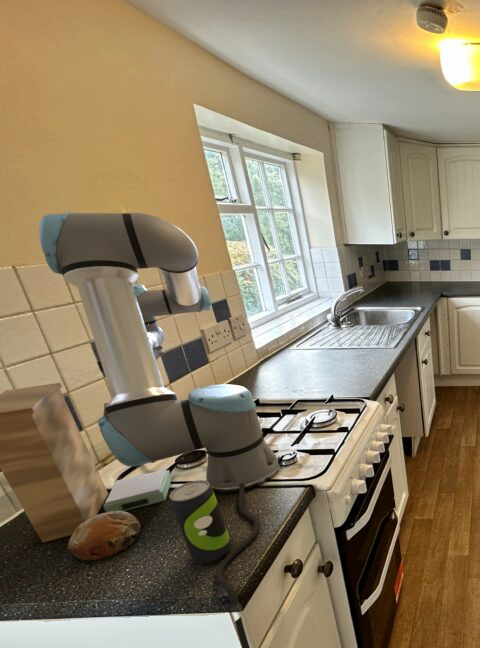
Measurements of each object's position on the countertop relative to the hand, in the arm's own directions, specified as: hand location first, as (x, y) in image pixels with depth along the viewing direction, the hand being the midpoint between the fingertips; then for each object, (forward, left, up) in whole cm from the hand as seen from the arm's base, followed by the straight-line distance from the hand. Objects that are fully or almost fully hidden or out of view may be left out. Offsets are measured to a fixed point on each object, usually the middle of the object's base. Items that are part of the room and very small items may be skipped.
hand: (116, 372), depth 97 cm
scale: (-14, +5, -26) cm, 30 cm away
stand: (-12, +15, -26) cm, 32 cm away
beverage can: (-47, 0, -26) cm, 54 cm away
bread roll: (-28, +12, -26) cm, 40 cm away
